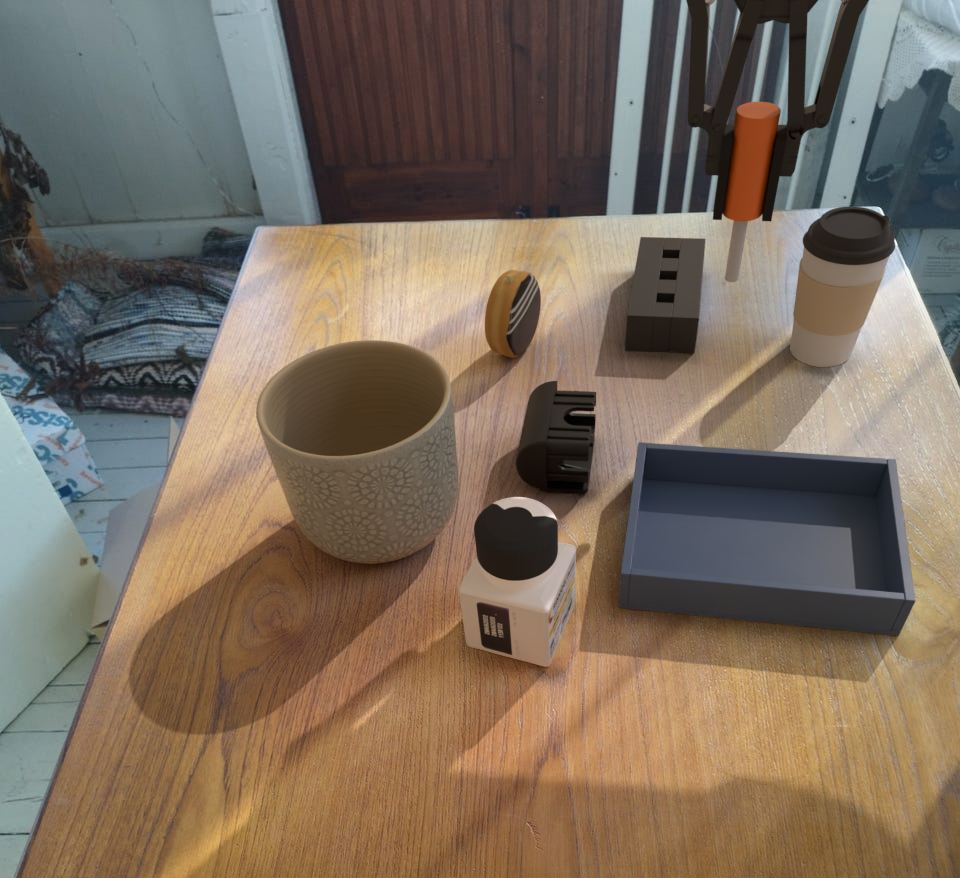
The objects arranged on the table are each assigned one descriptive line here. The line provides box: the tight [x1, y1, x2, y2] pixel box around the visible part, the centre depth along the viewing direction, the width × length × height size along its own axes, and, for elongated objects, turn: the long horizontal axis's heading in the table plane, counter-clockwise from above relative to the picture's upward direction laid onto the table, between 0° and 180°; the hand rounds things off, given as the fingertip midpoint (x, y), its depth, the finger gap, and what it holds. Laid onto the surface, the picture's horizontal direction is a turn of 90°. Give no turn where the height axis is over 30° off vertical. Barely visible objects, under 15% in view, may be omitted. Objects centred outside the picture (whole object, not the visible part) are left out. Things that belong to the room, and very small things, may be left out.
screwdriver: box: [722, 101, 782, 283], centre depth 74 cm, size 3×3×14 cm
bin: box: [617, 441, 916, 637], centre depth 79 cm, size 24×18×4 cm
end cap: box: [515, 380, 597, 495], centre depth 88 cm, size 10×7×7 cm
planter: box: [255, 339, 459, 565], centre depth 81 cm, size 17×17×15 cm
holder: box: [624, 236, 707, 354], centre depth 105 cm, size 8×18×4 cm, turn 169°
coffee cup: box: [789, 205, 896, 368], centre depth 93 cm, size 9×9×15 cm
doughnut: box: [484, 269, 542, 359], centre depth 100 cm, size 9×4×10 cm, turn 153°
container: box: [458, 496, 577, 668], centre depth 72 cm, size 8×8×13 cm
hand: (742, 212), depth 75 cm, fingers closed on screwdriver, 3 cm apart
